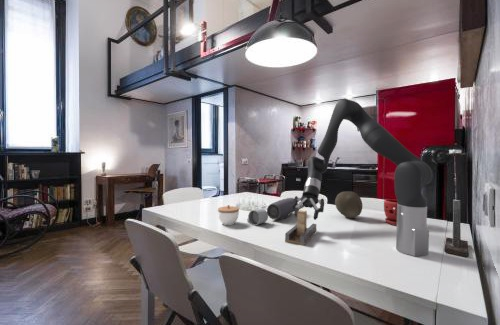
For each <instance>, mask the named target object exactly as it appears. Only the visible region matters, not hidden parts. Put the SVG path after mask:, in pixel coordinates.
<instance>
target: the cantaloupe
mask: <svg viewBox="0 0 500 325" xmlns="http://www.w3.org/2000/svg"><path fill="white" fill-rule="evenodd" d="M334 204H335V208H336V210H337V211H338V212H339V213H340V214H341V215H342V216H344V217H346V218H348V219H353V218H357V217H359V216H360V215H361V214H362V210H363V201H362V198H361V197H360V196H359V195H358V194H357V193H356V192H354V191H351V190H350V191H349V190H348V191H341V192H339V193H338V194H337V195H336V197H335V200H334Z"/></svg>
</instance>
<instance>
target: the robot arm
mask: <svg viewBox="0 0 500 325" xmlns="http://www.w3.org/2000/svg"><path fill="white" fill-rule="evenodd" d="M344 120H346V121H348V122H350V123H352V124H353V125H354V126H355V127H356V128H357V129H358V130H359V132H360V136H361V138H362V140H363V142H364V143H365V144H366V145H367V146H368V147H369V148H370V149H371V150H373V151H374V152H375V153H376V154H378V155H379V156H381V157H383V158H385V159H387V160H389V161H391V162H392V163H393V164H395V166H396V168H395V171H394V195H395V197H396V200H397V226H396V230H395V231H396V234H395V236H396V237H395V238H396V240H395V241H396V242H395V250H397V252H400V253H403V254H405V255H410V256H412V257H422V256H429V251H430V250H429V248H430V247H429V245H430V244H429V243H430V242H429V240H430V228H428V227H427V226H428V225H427V222H428V221H427V220H428V199H427V198H426V197H425V196H423V194H422V187H423V186H425V185H426V186H427V185H428V184H430V183H432V181H433V178H434V173H433V170H432V168H431V167H430V166H429V164H427V163H426V162H425V161H423V160H422V159H421V158H420V157H418V156H416V155H415V154H413V153H412V152H411V151H410V150H409V149H407V148H406V147H405V146H404V145H403V144H402V143H401V142H400V141H399V140H398V139H397V138H395V137H394V135H392V134H391V133H390V131H388V130H387V129H386V128H385V127H384V126H382V125H381V124H380V123H379V122H378V121H376V120H375V119H374V118H372V117H371V116H370V115H369V114H368V113H367V111H366V110H365V109H364V108H363V107H362V105H360V103H358V102H357V101H355V100H352V99H347V98H342V99H340V100H338V101H337V103H335V105H334V108H333V111H332V115H331V117H330V120H329V123H328V127H327V129H326V131H325V135H324V137H323V139H322V141H321V143H320V144H319V146H318V149H317V154H318V155H319V156H321V157H322V158H323V159H322V158H319V157H317V156H313V155H312V156H310V158H309V159H308V160H307V167H306V168H307V178H306V181H305V183H304V186H303V192H302V195H301V197H298V196H297V195H295V196H294V201H293V204H292V207H293V209H295V211H294V212H293V215H294V217H295V218H297V212H298V211H299V210H302V209H303V208H309V209H310V208H311V209H312V208H313V210H314V213H313V220H315V221H316V220H317V219H318V217H319V213H324V210H325V209H324V208H325V199H324V198H321V199H319V195H320V192H321V184H322V179H323V175H322V174H324V173H326V172H327V170H328V166H329V162H330V157H331V156H332V153H333V151H335V148H336V146H337V143H338V137H339V136H338V135H339V128H340V125H341V124H342V122H343V121H344ZM297 203H298V205H297ZM318 203H319V205H320V206H319V207H318V206H317V204H318Z"/></svg>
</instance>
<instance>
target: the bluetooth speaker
mask: <svg viewBox="0 0 500 325" xmlns="http://www.w3.org/2000/svg"><path fill="white" fill-rule="evenodd" d="M294 198H295V197H294ZM294 198H293V197H287V198H284V199H279V200H277V201H274V202H271V203H270V204H269V205H268V206H267V208H266V212H267V214H268V218H270V219H272V220H283V219H286V218H288V217H289V216H290V215H291V214H292V213H293V214H294V212H295V209H293V207H292V204H293V201H294ZM298 204H299V202H298V203H297V205H298Z"/></svg>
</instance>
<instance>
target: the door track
mask: <svg viewBox="0 0 500 325" xmlns="http://www.w3.org/2000/svg"><path fill="white" fill-rule="evenodd" d="M316 232H318V231H317V223H312V224H311V225H310V226H309V227H306V231H305V232H304V233H303V234H302V235H297V223H296V224H295V225H294V226H293V227H291V228H290V229H289V230H288V231H286V232H285V234H284V236H285V237H284V242H285V243H288V244H294V245H298V246H299V245H301V246H306V244H307V243H308V242H309V241H310V240H311V238H312V237H314V236H315V234H316Z"/></svg>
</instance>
